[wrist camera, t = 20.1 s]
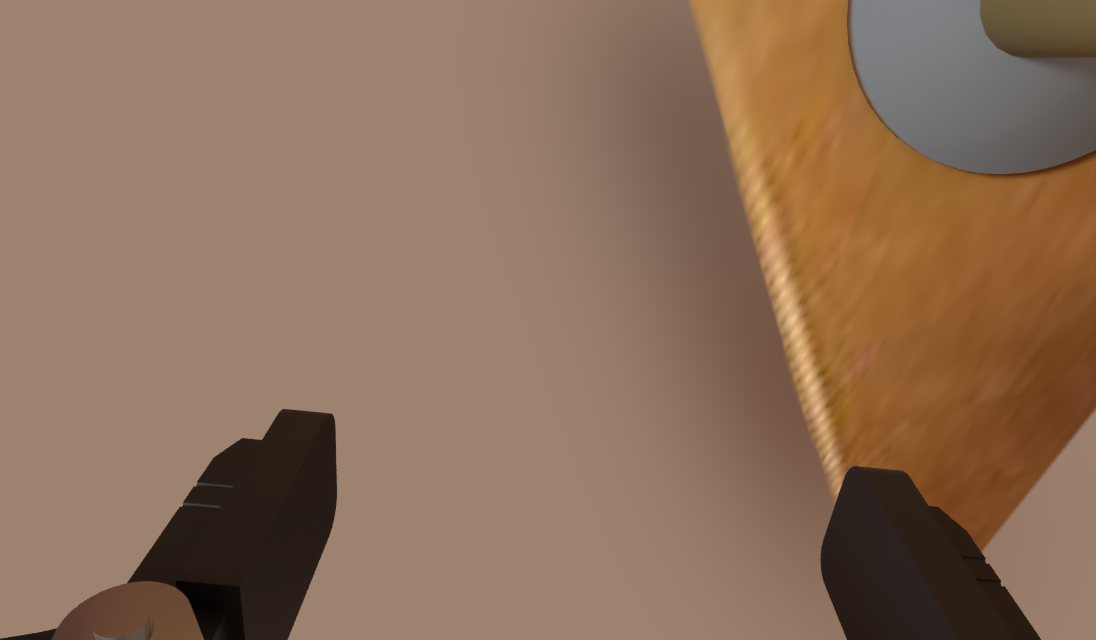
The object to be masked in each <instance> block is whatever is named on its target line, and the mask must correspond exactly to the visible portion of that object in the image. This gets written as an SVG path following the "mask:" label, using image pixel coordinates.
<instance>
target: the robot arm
mask: <svg viewBox="0 0 1096 640" xmlns="http://www.w3.org/2000/svg"><path fill="white" fill-rule="evenodd" d="M336 501H337V474H336V432H335V420H334V416H333V415H332V414H330V413H320V412H310V411H299V410H289V409H283V410H281V411H280V412H279V414H278V415H277V417H276V418H275V420H274V421H273V423H272V425H271V426H270V428H269V430H268V431H267V433H266V434H265V436H264V438H263V439H262V440H255V439H246V438H242V439H240V440H239V441H237V442H236V443H234V444H233V445H231V446H230V447H229V448H227V449H226V450H224V451H223V452H221V453H220V454H218V455H217V456H215V457H214V458H213V460H212V461H211V462H210V464H209V465H208V467H207V468H206V470H205V471H204V473H203V474H202V475H201V477H200V478H199V480H198V481H197V486H196V487H193V489H192V490H191V491H190V493H189V494H188V496H187V497H186V499H185V500H184V502H183V506H182V507H179V509H178V510H177V512H176V513H175V515H174V516H173V518H172V519H171V520H170V522H169V523H168V525H167V526H166V528H165V529H164V530H163V532H162V533H161V535H160V536H159V538H158V539H157V541H156V542H155V544H154V545H153V546H152V548H151V549H150V551H149V552H148V554H147V555H146V557H145V558H144V559H143V561H142V562H141V564H140V565H139V567H138V568H137V570H136V571H135V572H134V574H133V575H132V577H131V578H130V580H129V581H128V583H127V584H122V585H119V586H115V587H112V588H109V589H106V590H104V591H102V592H99V593H98V594H96V595H94V596H92V597H90V598H88V599H87V600H85V601H84V602H82V603H80V604H79V605H78V606H77V607H76V608H74V609H73V610H72V611H71V612H70V613H69V614H68V615H67V616H66V617H65V618H64V619H63V620H62V622H61V623H60V625H59V626H58V627H57V628H56V629H53V630H49V631H43V632H39V633H33V634H27V635H21V636H14V637H8V638H2V639H0V640H287V639H288V637H289V635H290V632H291V630H292V627H293V625H294V622H295V620H296V617H297V615H298V612H299V610H300V607H301V605H302V603H303V600H304V598H305V595H306V592H307V590H308V588H309V585H310V583H311V580H312V578H313V575H314V573H315V570H316V568H317V565H318V563H319V560H320V558H321V555H322V553H323V550H324V548H325V545H326V543H327V540H328V538H329V535H330V532H331V529H332V526H333V521H334V516H335V510H336ZM821 571H822V576H823V581H824V584H825V586H826V589H827V591H828V594H829V596H830V599H831V601H832V603H833V606H834V609H835V611H836V613H837V616H838V619H839V621H840V623H841V626H842V628H843V631H844V633H845V636H846V638H847V640H1041V639H1040V637H1039V636H1038V634H1037V633H1036V631H1035V630H1034V628H1033V627H1032V626H1031V624H1030V623H1029V621H1028V620H1027V618H1026V617H1025V616H1024V614H1023V613H1022V611H1021V609H1020V608H1019V607H1018V605H1017V604H1016V602H1015V601H1014V599H1013V598H1012V596H1011V595H1010V594H1009V592H1008V590H1007V589H1006V588H1005V587H1003V586H1001V584H1000V583H1001V580H1000V579H999V578H998V576H997V574H996V573H995V572H994V570H993V569H992V567H991V566H990V564H986V563H985V557H984V555H983V554H982V553H981V551H980V550H979V548H978V547H977V545H976V544H975V542H974V541H973V539H972V538H971V536H970V535H969V534H968V532H967V531H966V530H965V529H964V528H962V527H961V526H960V525H959V524H958V523H956V522H955V521H954V520H953V519H952V518H950V517H949V516H948V515H947V514H946V513H944V512H943V511H942V510H941V509H940V508H938V507H933V506H928V505H927V503H926V501H925V500H924V498H923V497H922V495H921V494H920V492H919V491H918V489H917V488H916V486H915V484H914V483H913V481H912V480H911V478H910V477H909V476H908V474H907V473H905V472H903V471H899V470H888V469H878V468H868V467H858V466H854V467H851V468H850V469H849V470H848V472H847V473H846V475H845V478H844V480H843V483H842V486H841V489H840V492H839V495H838V498H837V501H836V504H835V507H834V510H833V513H832V516H831V519H830V522H829V525H828V528H827V531H826V534H825V537H824V540H823V543H822V549H821Z"/></svg>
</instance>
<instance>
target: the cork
mask: <svg viewBox="0 0 1096 640" xmlns="http://www.w3.org/2000/svg"><path fill="white" fill-rule="evenodd" d="M980 18H981V21H982V25H983V28H984V31H985V34H986V35H987V36H988V38H989V39H990V40H991V41H992V43H993V44H994V45H995V46H996V47H997V48H998V49H1000V50H1002V51H1004V52H1006V53H1008V54H1009V55H1011V56H1018V57H1026V58H1080V57H1096V0H980Z"/></svg>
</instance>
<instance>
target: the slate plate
mask: <svg viewBox="0 0 1096 640" xmlns="http://www.w3.org/2000/svg"><path fill="white" fill-rule="evenodd" d="M847 26H848V44H849V49H850V54H851V59H852V65H853V68H854V71H855V74H856V77H857V80H858V83H859V86H860V88H861V90H862V92H863V94H864V96H865V98H866V100H867V102H868V104H869V105H870V107H871V108H872V110H873V111H874V112H875V114H876V115H877V116H878V118H879V119H880V121H881V122H882V123H883V124H884V125H885V126H886V127H887V128H888V129H889V130H890V131H891V132H892V133H893V134H894V135H895V136H896V137H897V138H899V139H900V140H902V141H903V142H904V143H906V144H907V145H909V146H910V147H911V148H913V149H914V150H916V151H918V152H920V153H921V154H923V155H925V156H927V157H929V158H931V159H933V160H935V161H937V162H939V163H942V164H945V165H948V166H951V167H954V168H957V169H960V170H965V171H971V172H976V173H984V174H1013V173H1025V172H1031V171H1036V170H1040V169H1045V168H1050V167H1053V166H1056V165H1059V164H1062V163H1066V162H1069V161H1072V160H1074V159H1077V158H1079V157H1081V156H1083V155H1086V154H1088V153H1090V152H1092V151H1095V150H1096V57H1080V58H1026V57H1018V56H1011V55H1009V54H1008V53H1006V52H1004V51H1002V50H1000V49H998V48H997V47H996V46H995V45H994V44H993V43H992V41H991V40H990V39H989V38H988V36H987V35H986V34H985V31H984V28H983V25H982V21H981V18H980V0H848V15H847Z"/></svg>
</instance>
